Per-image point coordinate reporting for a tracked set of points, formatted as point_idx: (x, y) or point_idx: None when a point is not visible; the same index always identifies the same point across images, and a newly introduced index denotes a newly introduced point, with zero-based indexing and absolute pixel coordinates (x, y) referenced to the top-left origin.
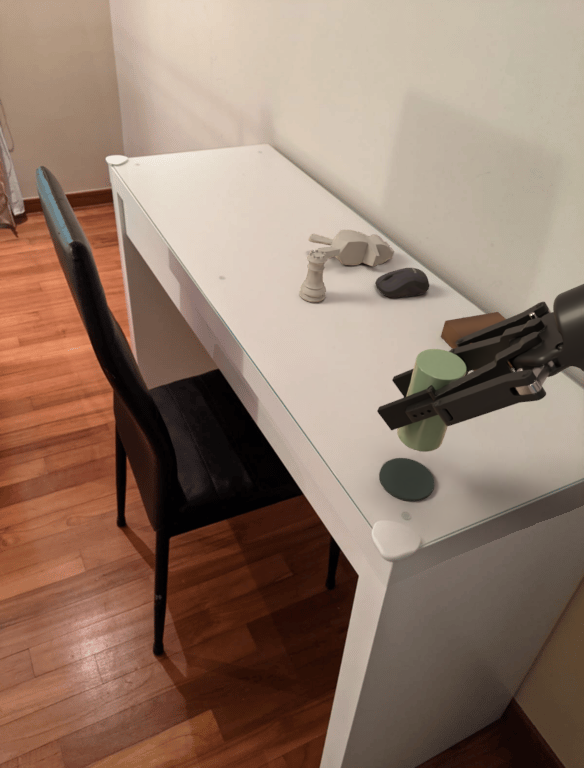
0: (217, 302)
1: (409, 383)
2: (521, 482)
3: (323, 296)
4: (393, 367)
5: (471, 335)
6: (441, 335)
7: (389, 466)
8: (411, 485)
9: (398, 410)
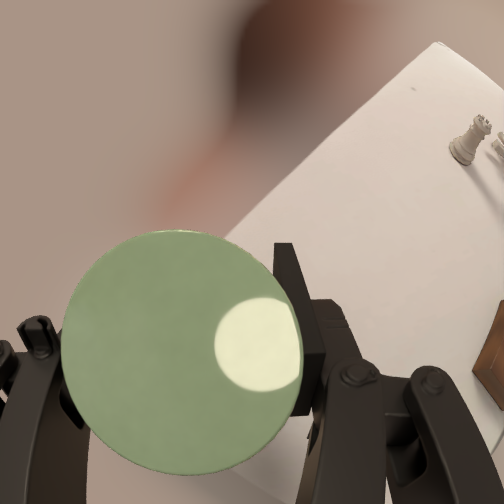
0: (385, 89)
1: None
2: None
3: (466, 162)
4: (435, 267)
5: (458, 425)
6: (502, 300)
7: None
8: None
9: None
